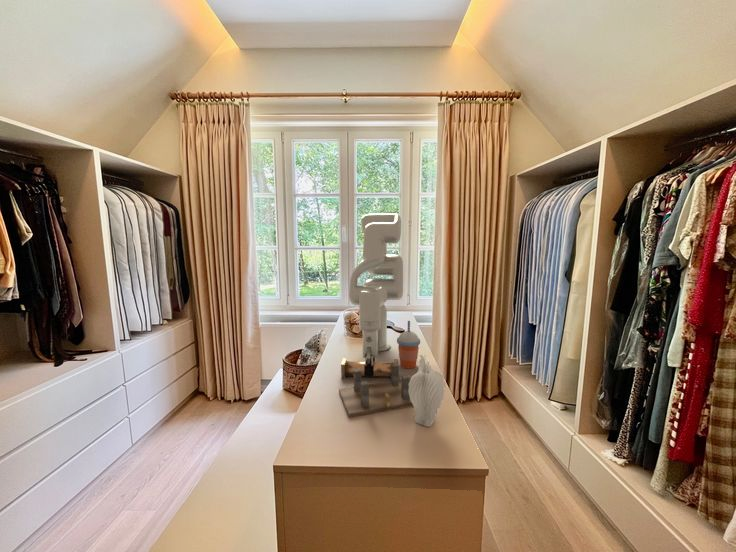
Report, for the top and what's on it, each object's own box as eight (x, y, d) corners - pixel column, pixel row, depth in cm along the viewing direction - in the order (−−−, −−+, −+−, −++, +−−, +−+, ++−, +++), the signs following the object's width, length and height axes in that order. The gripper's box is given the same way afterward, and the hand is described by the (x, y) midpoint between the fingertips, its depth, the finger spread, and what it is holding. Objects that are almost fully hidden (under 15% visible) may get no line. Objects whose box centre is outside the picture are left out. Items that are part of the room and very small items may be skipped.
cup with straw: (419, 371, 111) (420, 325, 109) (395, 369, 113) (395, 323, 111) (420, 361, 120) (421, 318, 118) (397, 359, 122) (398, 317, 119)
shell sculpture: (436, 435, 76) (438, 369, 73) (406, 425, 80) (407, 362, 77) (444, 418, 83) (447, 357, 81) (416, 409, 87) (418, 351, 85)
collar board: (339, 392, 97) (338, 368, 96) (406, 381, 104) (407, 359, 102) (348, 417, 83) (348, 390, 82) (425, 403, 90) (426, 378, 89)
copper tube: (341, 378, 106) (341, 364, 105) (343, 371, 111) (343, 357, 111) (397, 380, 105) (398, 365, 104) (397, 373, 110) (397, 359, 109)
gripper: (379, 331, 96) (379, 381, 98) (380, 318, 113) (380, 360, 115) (356, 331, 97) (357, 381, 99) (361, 317, 114) (361, 360, 116)
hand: (369, 370), depth 107 cm, fingers open, 9 cm apart
